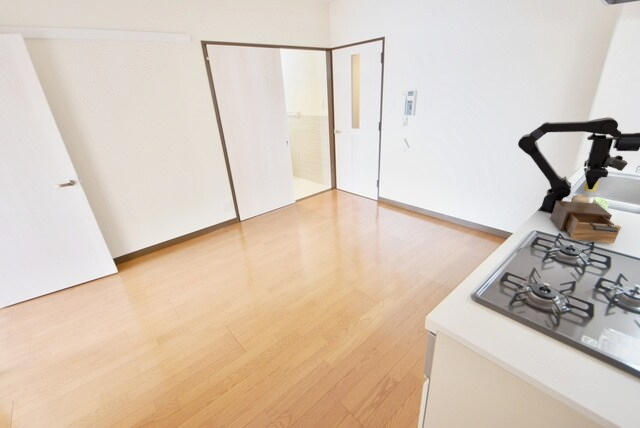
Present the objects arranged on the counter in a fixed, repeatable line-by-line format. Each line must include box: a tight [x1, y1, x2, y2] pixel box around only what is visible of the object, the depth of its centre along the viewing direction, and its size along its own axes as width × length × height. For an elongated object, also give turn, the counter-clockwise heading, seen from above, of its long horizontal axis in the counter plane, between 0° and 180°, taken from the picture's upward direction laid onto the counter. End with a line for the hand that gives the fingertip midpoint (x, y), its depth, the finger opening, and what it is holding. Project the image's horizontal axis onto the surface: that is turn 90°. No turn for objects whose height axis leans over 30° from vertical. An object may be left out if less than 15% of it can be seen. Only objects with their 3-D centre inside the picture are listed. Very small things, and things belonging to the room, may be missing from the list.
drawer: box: [564, 214, 622, 244], centre depth 103 cm, size 15×12×8 cm
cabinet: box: [550, 200, 613, 233], centre depth 113 cm, size 12×14×9 cm
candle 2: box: [591, 196, 610, 211], centre depth 120 cm, size 5×5×8 cm
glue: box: [582, 180, 600, 192], centre depth 117 cm, size 4×4×6 cm
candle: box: [570, 193, 590, 203], centre depth 121 cm, size 6×6×10 cm
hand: (589, 187), depth 118 cm, fingers closed on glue, 4 cm apart
